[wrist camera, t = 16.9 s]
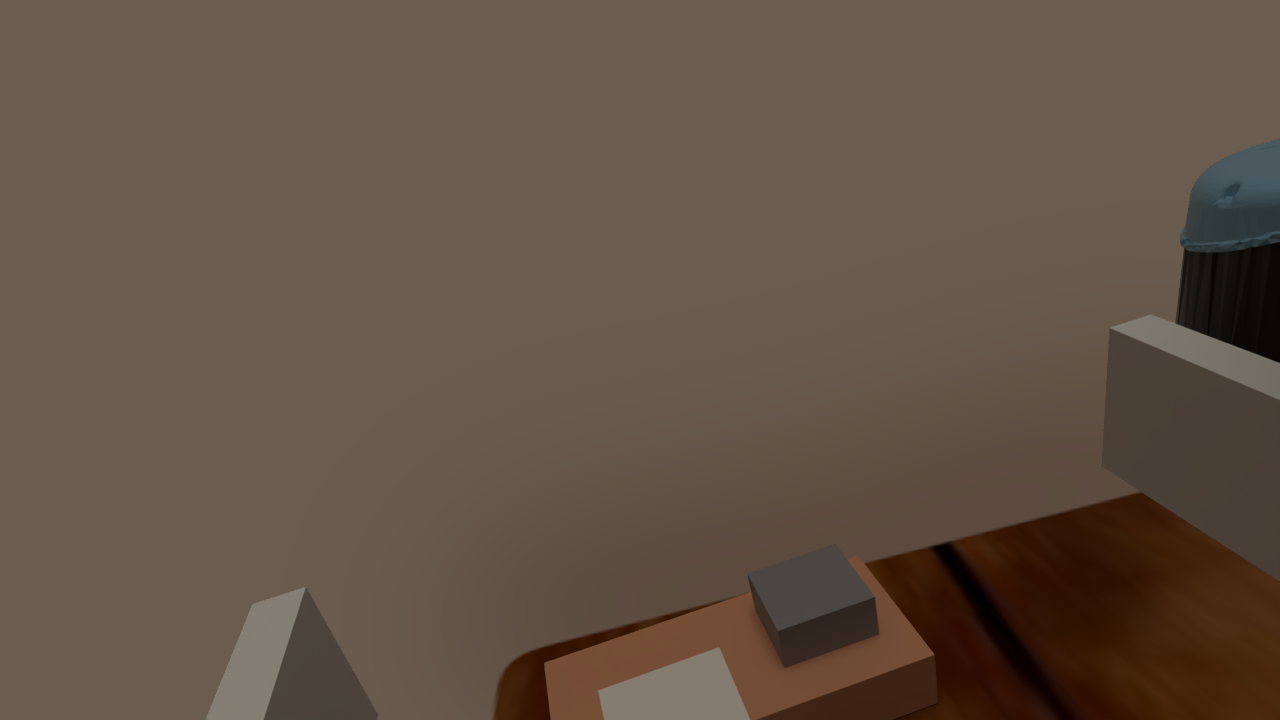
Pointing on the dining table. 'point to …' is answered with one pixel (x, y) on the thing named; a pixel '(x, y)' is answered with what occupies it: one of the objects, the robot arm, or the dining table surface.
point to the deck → (758, 667)
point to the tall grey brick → (677, 693)
